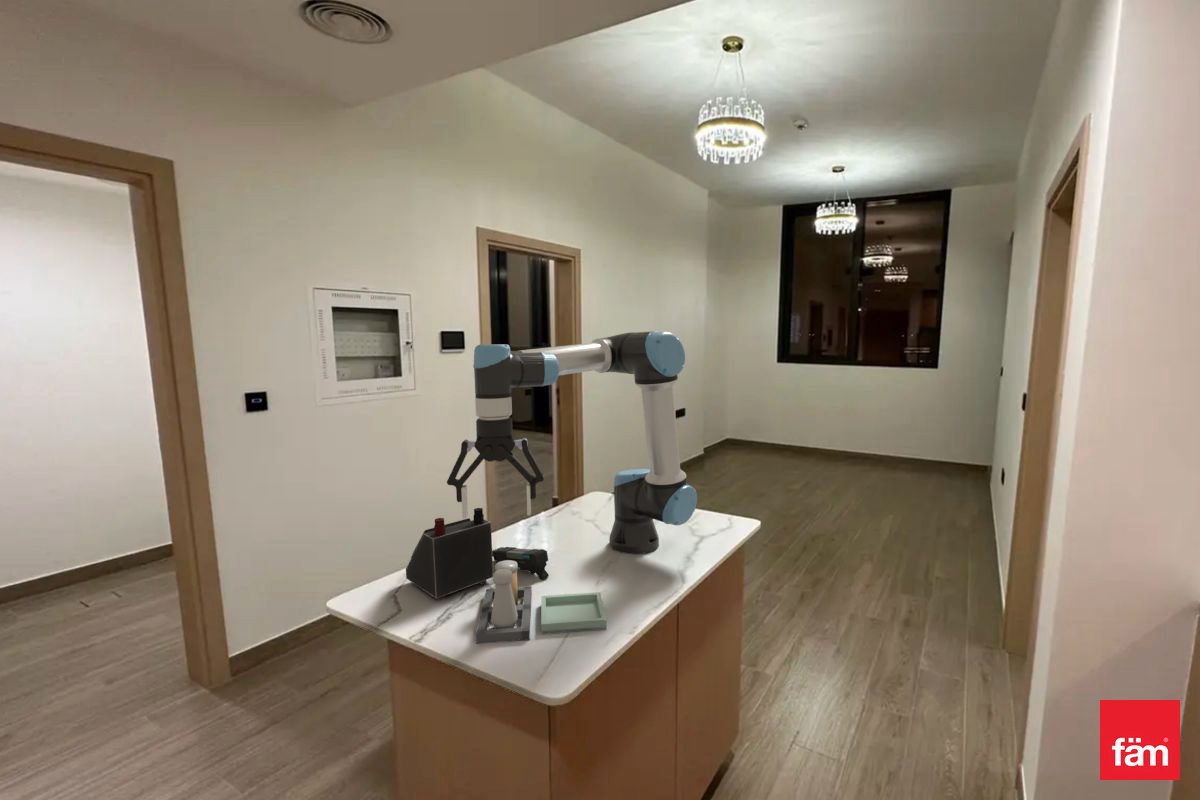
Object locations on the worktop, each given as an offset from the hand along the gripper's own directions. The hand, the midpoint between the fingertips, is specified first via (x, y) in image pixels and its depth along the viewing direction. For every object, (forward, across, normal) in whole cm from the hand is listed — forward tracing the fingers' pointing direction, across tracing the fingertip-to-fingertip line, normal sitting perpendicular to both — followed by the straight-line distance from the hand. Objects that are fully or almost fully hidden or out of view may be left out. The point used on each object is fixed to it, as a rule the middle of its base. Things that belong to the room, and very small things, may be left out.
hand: (497, 515), depth 116 cm
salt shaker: (+25, -1, +1) cm, 25 cm away
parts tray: (+25, -16, -2) cm, 30 cm away
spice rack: (+25, -1, -4) cm, 25 cm away
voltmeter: (+25, +15, -24) cm, 38 cm away
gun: (+25, -3, -30) cm, 39 cm away
